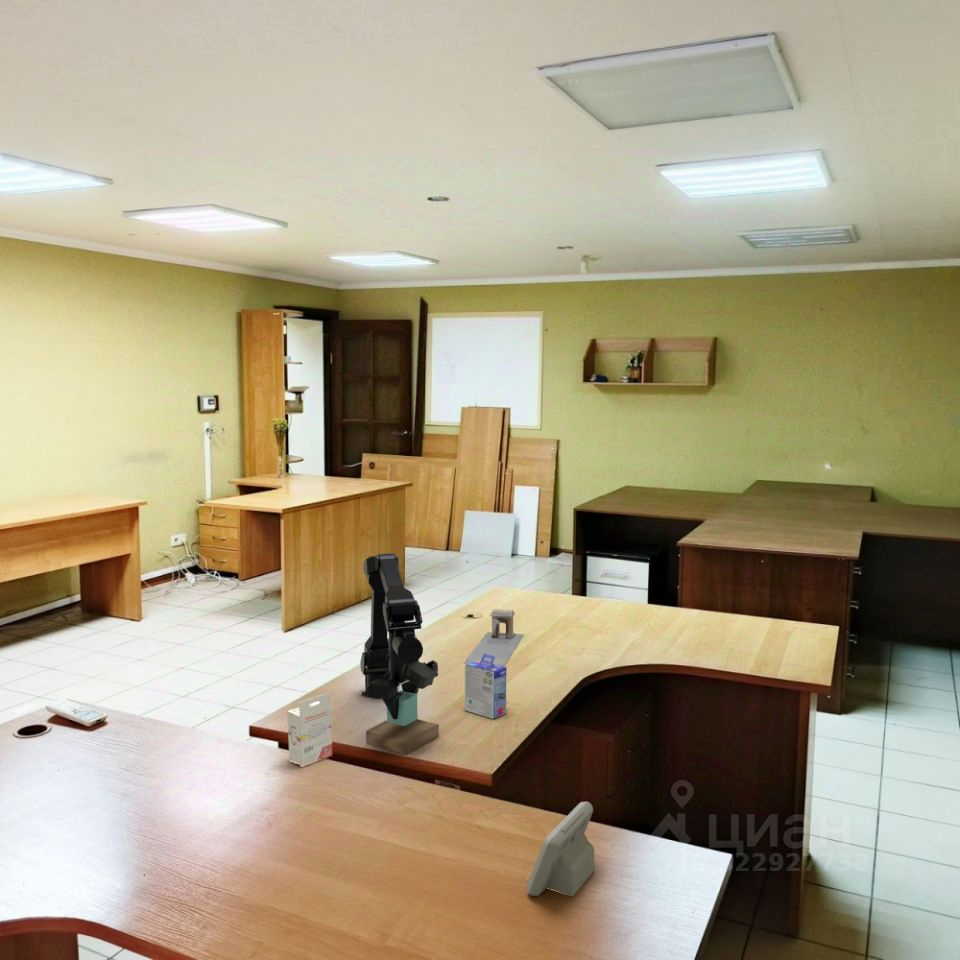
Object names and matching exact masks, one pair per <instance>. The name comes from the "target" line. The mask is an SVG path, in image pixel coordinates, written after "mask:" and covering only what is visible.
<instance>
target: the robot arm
mask: <svg viewBox="0 0 960 960" xmlns="http://www.w3.org/2000/svg"><path fill="white" fill-rule="evenodd" d="M363 574H364V575H365V577H366V579H367V583H368V584H369V587H370V588H371V597H370V598H371V602H370V603H371V605H370V636H369V637H368V638H367V640H366V641H365V643H364V647H363V648H364V649H363V650H364V651H363V652H362V653H361V658H360V671H361V673H362V676H364V677H365V678H364V687H365V688H364V689H365V690H364V691H362V692H361V695H363V696H367V697H371V698H375V699H382V701H383V703H384V704H385V706H386V709H387V708H388V710H389V712H390V714H391V716H392V718H393V719H395V720H396V719H397V718H398V707H399V698H400V697H401V696H402V695H403V693H401V692H399V691H400V685H401V691H405V692H410V693H414V694H417V695H418V692H419V690H420V689H422V690H425V688H427V687H428V686H432V685H433V683H434V679H435V678H437V677H438V676H439V665H438V662H437V661H436V660H434V659H432V660H430V661H428V662H420V659H421V658H422V656H423V653H424V646H423V644H422V642H421V640H419V639H418V637H417V636H416V630H421V629H422V624H423V617H422V611H421V608H420V605H419V603H418V601H417V600H416V599H415V597H414V595H413V592H412V591H410V590H409V589H408V588H405V586H404V581H403V579H402V575H401V573H400V557H399V556H398V555H397V553H393V552H392V553H389V552H388V553H378V554H376V555H372V556H370V555H369V556H368V557H367V558H365V560H364V561H363ZM414 620H415V621H414Z"/></svg>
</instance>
